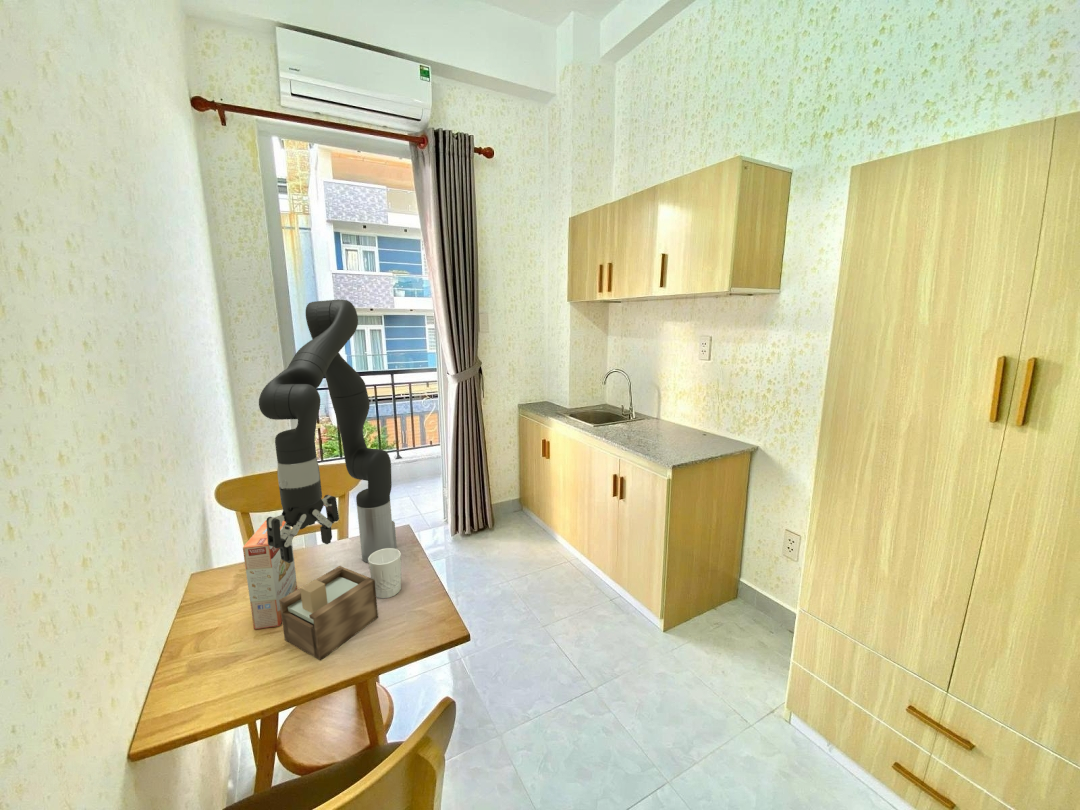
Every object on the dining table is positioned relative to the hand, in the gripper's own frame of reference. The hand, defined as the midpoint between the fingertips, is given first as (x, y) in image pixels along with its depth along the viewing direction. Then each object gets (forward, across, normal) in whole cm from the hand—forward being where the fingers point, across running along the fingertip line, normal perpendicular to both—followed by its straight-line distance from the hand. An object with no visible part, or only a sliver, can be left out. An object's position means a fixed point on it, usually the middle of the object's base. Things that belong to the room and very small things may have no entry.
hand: (308, 551), depth 92 cm
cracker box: (+21, -2, -18) cm, 28 cm away
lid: (+14, -4, 0) cm, 14 cm away
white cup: (+21, -20, 0) cm, 29 cm away
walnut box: (+21, -4, 0) cm, 21 cm away
